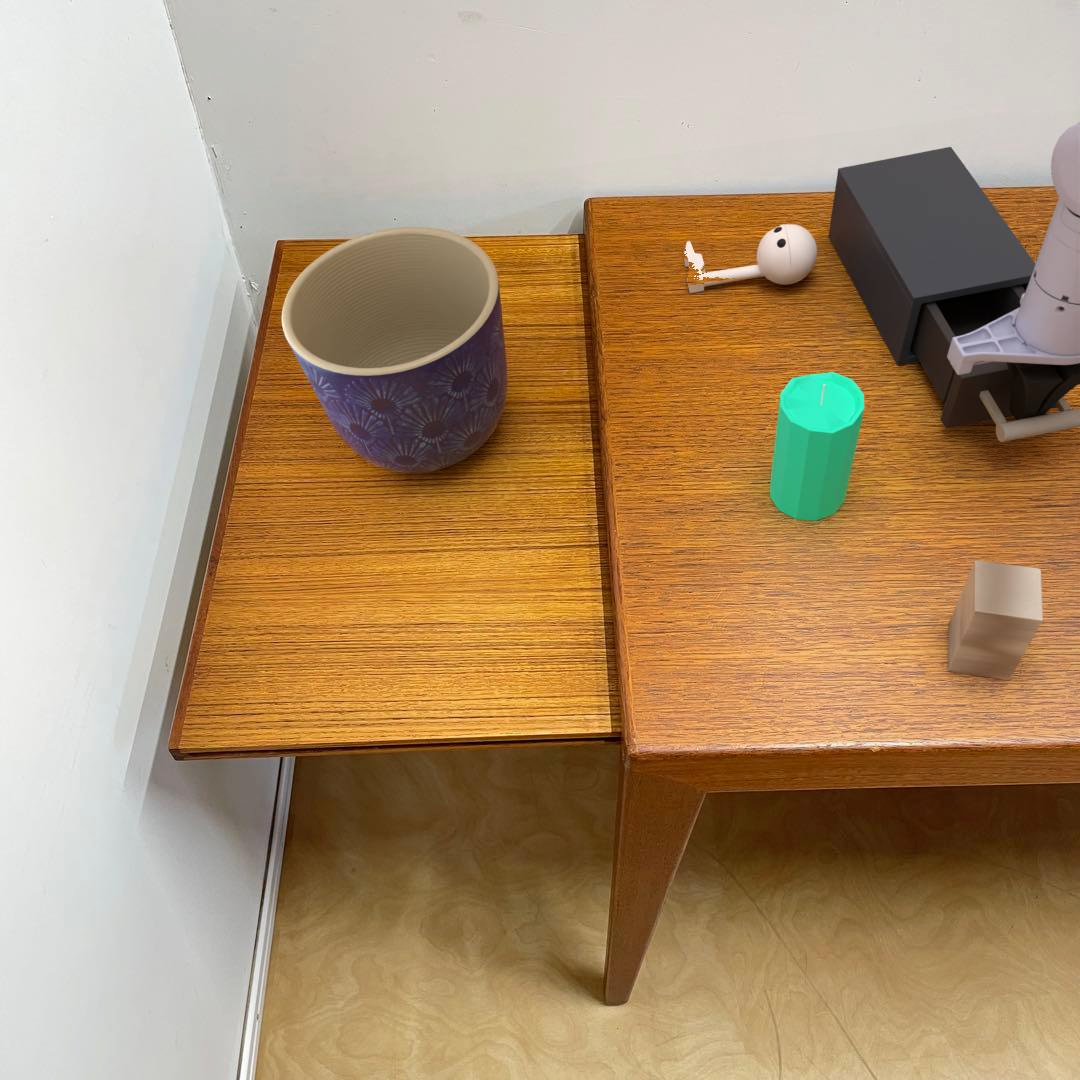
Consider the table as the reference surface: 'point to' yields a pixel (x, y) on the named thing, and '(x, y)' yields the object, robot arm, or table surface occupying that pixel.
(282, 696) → the table surface
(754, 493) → the table surface
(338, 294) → the planter
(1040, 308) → the robot arm
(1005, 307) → the drawer
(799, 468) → the candle
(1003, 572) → the block
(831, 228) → the cabinet
